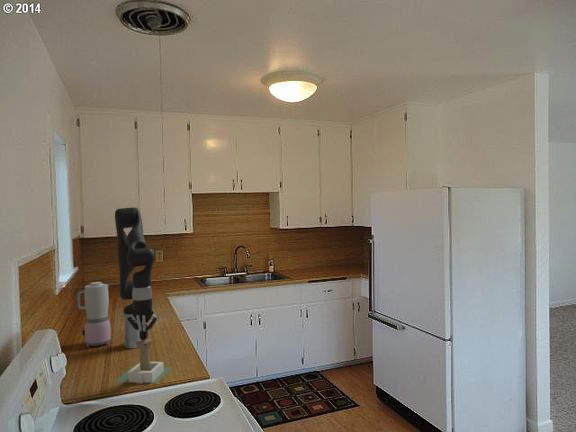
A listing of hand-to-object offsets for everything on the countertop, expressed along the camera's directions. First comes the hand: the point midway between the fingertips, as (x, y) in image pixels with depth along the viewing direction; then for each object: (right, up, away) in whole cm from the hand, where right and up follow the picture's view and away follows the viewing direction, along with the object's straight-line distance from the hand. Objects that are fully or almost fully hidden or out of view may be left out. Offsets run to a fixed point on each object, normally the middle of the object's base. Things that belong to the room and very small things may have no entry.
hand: (143, 339), depth 170 cm
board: (-1, -17, +3) cm, 17 cm away
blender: (-41, -16, +46) cm, 64 cm away
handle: (+1, -16, 0) cm, 16 cm away
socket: (+1, -16, +1) cm, 16 cm away
